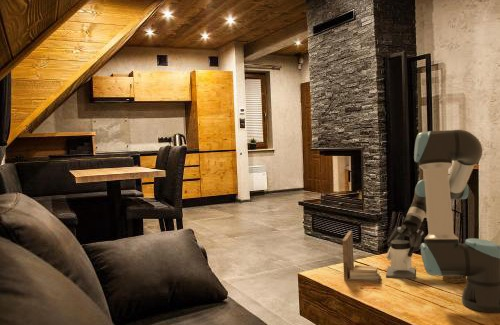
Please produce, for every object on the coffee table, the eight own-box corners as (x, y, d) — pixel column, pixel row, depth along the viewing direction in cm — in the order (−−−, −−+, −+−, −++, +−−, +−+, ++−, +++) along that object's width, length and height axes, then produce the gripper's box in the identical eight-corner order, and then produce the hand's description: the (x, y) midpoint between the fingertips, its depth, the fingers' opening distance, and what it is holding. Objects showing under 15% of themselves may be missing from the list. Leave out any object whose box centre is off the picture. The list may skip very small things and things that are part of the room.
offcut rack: (379, 283, 183) (377, 241, 182) (344, 280, 188) (342, 240, 187) (383, 269, 201) (381, 231, 200) (350, 267, 206) (349, 230, 206)
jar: (397, 263, 200) (396, 238, 199) (414, 266, 194) (413, 240, 194) (387, 268, 194) (386, 242, 193) (404, 271, 188) (403, 244, 187)
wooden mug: (461, 288, 172) (459, 244, 171) (438, 278, 185) (436, 237, 184) (479, 285, 174) (478, 241, 173) (455, 275, 187) (454, 235, 186)
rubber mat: (414, 279, 186) (414, 277, 186) (385, 277, 190) (385, 275, 190) (415, 269, 199) (415, 267, 199) (388, 267, 203) (387, 266, 203)
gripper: (438, 226, 195) (420, 269, 186) (398, 221, 211) (380, 260, 202) (432, 216, 191) (413, 260, 182) (391, 212, 207) (372, 251, 198)
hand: (396, 260), depth 192 cm, fingers closed on jar, 8 cm apart
